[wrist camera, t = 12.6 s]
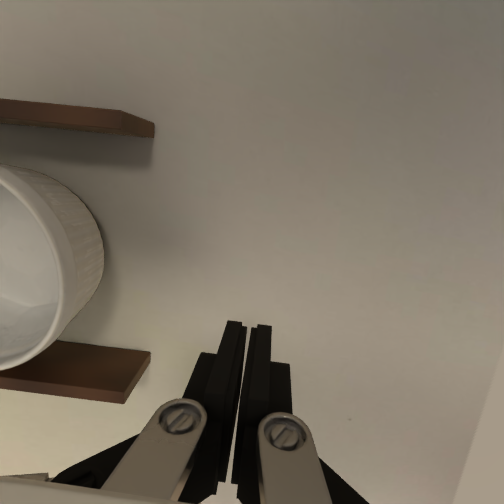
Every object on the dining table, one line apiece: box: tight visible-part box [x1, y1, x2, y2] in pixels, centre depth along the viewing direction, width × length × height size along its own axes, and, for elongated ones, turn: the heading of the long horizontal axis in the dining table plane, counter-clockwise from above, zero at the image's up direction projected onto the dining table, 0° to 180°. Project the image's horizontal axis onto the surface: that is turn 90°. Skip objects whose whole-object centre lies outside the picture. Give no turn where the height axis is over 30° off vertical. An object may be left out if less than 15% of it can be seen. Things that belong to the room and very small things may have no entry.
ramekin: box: [0, 164, 104, 370], centre depth 21 cm, size 13×13×7 cm
